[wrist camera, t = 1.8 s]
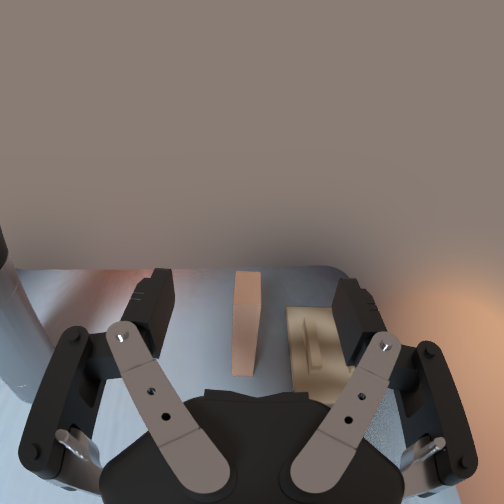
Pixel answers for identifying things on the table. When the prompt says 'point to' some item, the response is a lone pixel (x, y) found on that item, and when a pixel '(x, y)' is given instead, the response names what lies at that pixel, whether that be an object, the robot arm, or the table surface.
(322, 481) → the robot arm
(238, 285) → the block
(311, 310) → the plate
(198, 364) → the table surface
